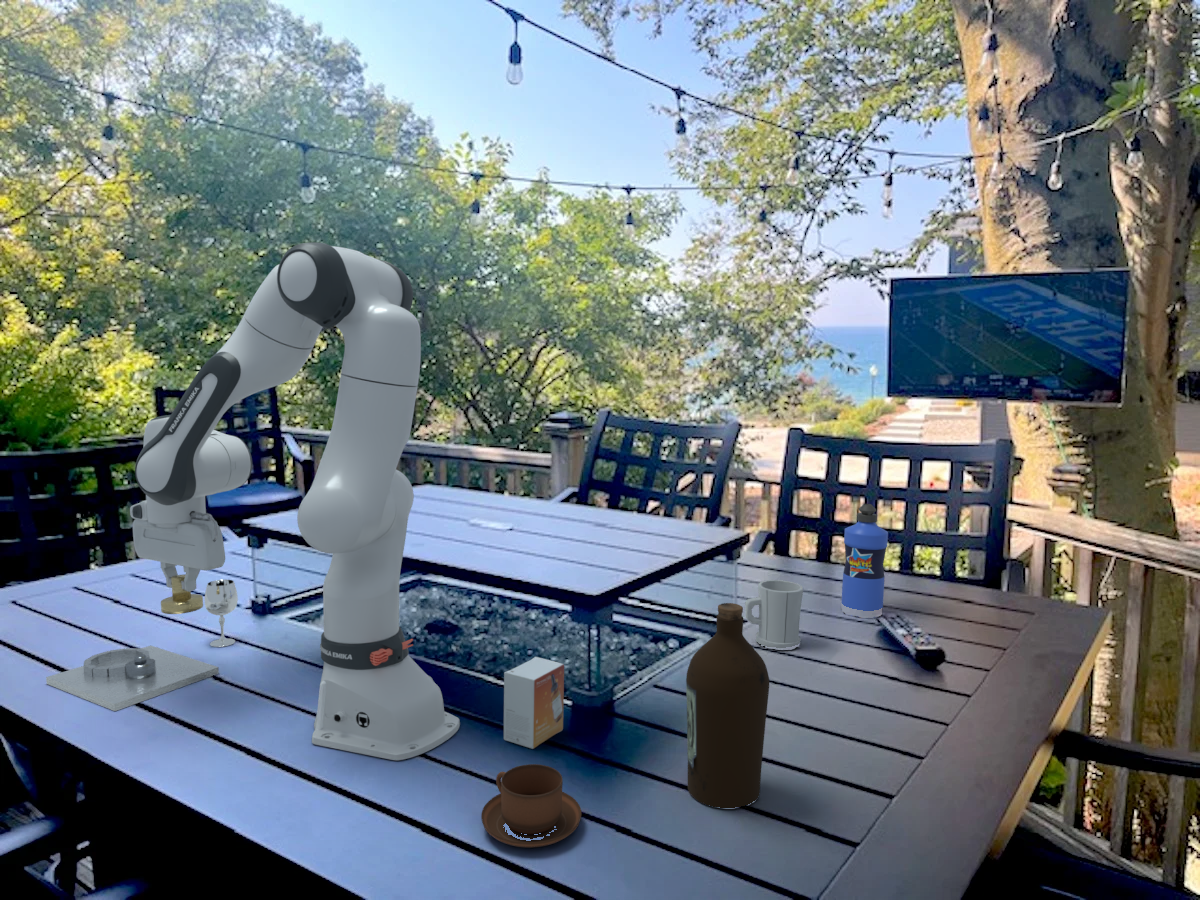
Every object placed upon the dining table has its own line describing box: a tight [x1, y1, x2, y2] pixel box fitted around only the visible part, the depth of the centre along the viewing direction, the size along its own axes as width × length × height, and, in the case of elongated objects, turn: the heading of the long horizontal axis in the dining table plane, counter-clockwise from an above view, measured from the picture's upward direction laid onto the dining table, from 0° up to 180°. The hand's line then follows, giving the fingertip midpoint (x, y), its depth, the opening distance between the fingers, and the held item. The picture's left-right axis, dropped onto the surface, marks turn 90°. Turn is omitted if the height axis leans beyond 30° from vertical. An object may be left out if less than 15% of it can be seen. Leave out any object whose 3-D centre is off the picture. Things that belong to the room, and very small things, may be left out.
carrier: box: [45, 645, 220, 712], centre depth 138 cm, size 20×18×4 cm
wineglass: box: [204, 579, 239, 648], centre depth 155 cm, size 6×6×12 cm
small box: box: [503, 656, 565, 750], centre depth 120 cm, size 8×6×10 cm
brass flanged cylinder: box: [160, 573, 204, 615], centre depth 138 cm, size 6×6×6 cm
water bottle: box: [840, 503, 889, 611], centre depth 182 cm, size 9×9×25 cm
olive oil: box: [685, 602, 770, 808], centre depth 104 cm, size 11×11×25 cm
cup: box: [744, 579, 804, 648], centre depth 161 cm, size 10×9×12 cm
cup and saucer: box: [481, 763, 582, 849], centre depth 97 cm, size 12×12×6 cm
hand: (181, 588), depth 138 cm, fingers closed on brass flanged cylinder, 3 cm apart
